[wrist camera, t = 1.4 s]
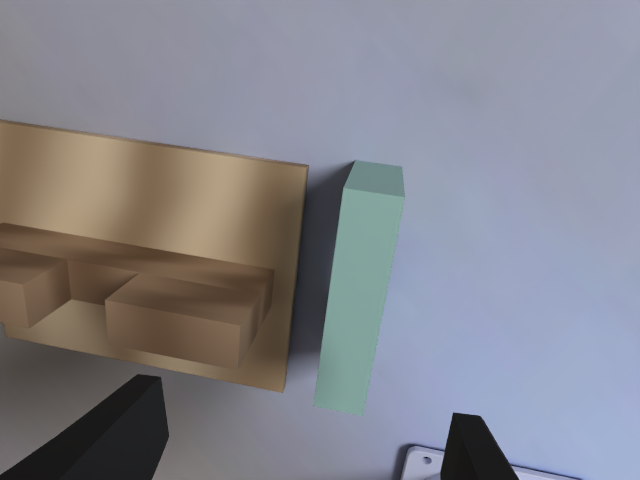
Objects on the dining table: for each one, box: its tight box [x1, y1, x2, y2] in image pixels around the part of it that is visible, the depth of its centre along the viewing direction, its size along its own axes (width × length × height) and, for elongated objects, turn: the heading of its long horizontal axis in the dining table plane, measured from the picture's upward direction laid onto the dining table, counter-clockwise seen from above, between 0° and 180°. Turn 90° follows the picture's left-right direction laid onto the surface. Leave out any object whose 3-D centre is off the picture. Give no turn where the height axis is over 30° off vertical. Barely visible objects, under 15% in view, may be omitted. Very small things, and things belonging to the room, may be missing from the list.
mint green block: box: [313, 161, 405, 416], centre depth 18 cm, size 2×9×5 cm, turn 173°
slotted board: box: [0, 120, 309, 393], centre depth 20 cm, size 16×12×6 cm
